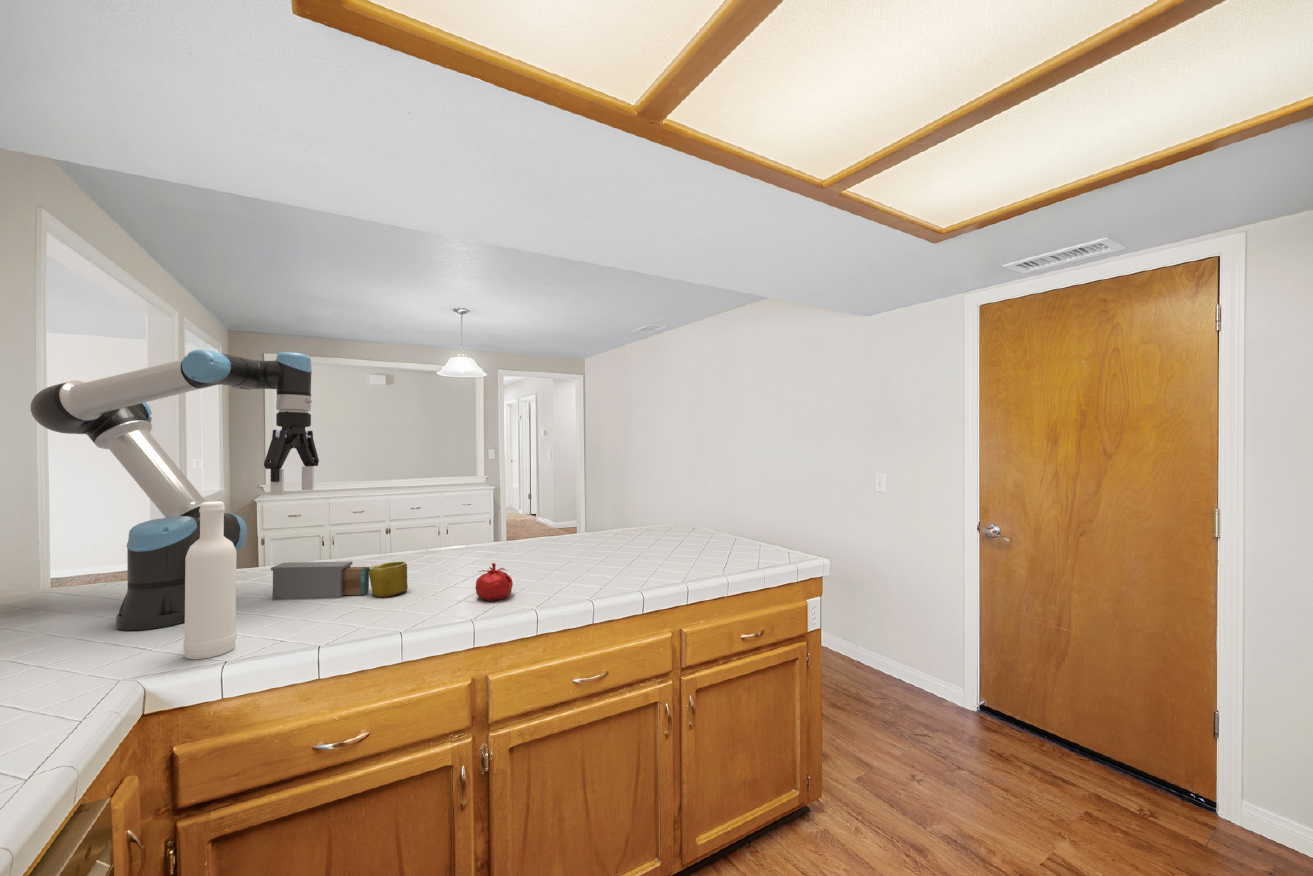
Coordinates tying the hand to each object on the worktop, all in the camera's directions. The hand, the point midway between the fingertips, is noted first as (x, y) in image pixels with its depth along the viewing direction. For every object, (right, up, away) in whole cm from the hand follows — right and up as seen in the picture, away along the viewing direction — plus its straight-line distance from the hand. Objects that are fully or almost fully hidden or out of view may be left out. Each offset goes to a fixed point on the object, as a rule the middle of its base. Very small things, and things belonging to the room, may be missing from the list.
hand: (293, 492), depth 137 cm
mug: (+20, -29, +8) cm, 36 cm away
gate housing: (+2, -29, +5) cm, 29 cm away
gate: (+8, -29, +6) cm, 30 cm away
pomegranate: (+52, -29, +4) cm, 60 cm away
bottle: (+6, -29, -33) cm, 44 cm away
